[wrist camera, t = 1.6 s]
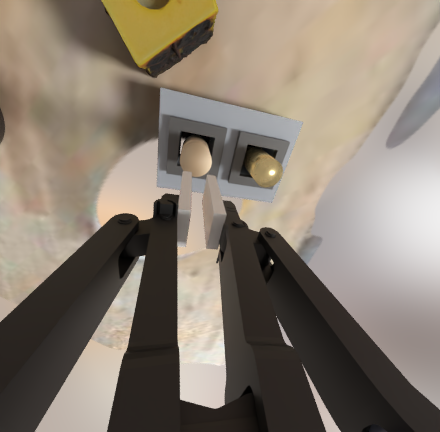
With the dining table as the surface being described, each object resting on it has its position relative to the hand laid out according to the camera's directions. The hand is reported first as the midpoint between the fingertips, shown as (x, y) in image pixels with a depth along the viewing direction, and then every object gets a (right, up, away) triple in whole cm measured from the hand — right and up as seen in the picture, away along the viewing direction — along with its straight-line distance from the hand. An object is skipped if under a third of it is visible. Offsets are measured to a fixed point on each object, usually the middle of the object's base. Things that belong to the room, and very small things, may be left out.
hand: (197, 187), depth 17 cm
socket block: (+2, +10, +18) cm, 21 cm away
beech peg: (-2, +8, +13) cm, 15 cm away
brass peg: (+8, +7, +15) cm, 18 cm away
